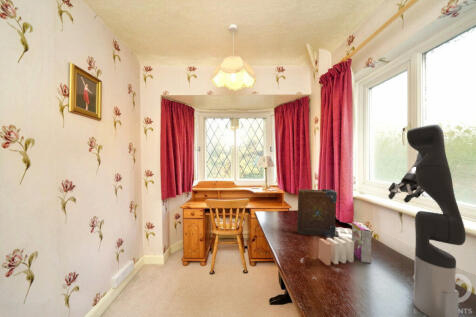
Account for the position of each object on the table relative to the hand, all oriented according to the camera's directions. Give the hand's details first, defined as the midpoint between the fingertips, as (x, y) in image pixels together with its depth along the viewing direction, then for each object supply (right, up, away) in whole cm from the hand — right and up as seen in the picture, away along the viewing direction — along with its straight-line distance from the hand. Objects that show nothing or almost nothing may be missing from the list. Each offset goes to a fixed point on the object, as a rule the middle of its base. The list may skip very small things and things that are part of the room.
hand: (397, 199), depth 93 cm
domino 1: (-41, -29, -6) cm, 51 cm away
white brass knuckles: (-11, -31, +25) cm, 41 cm away
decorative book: (-32, -30, +27) cm, 51 cm away
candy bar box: (-20, -30, 0) cm, 36 cm away
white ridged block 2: (-33, -30, -4) cm, 44 cm away
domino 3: (-28, -30, -3) cm, 41 cm away
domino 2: (-37, -29, -5) cm, 47 cm away
